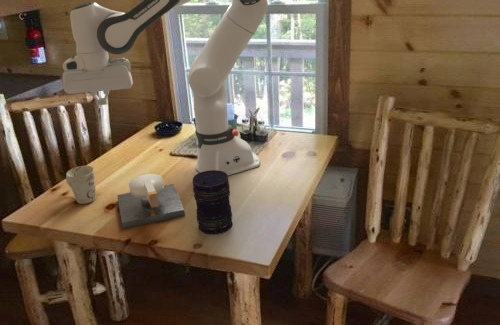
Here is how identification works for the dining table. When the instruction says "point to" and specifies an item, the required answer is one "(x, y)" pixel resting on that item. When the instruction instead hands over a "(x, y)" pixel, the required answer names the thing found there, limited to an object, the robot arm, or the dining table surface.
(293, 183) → the dining table surface
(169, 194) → the plate
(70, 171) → the mug
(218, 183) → the dark blue ribbed cylinder
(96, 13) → the robot arm
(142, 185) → the white handled oval piece
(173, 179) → the dining table surface
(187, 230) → the dining table surface
